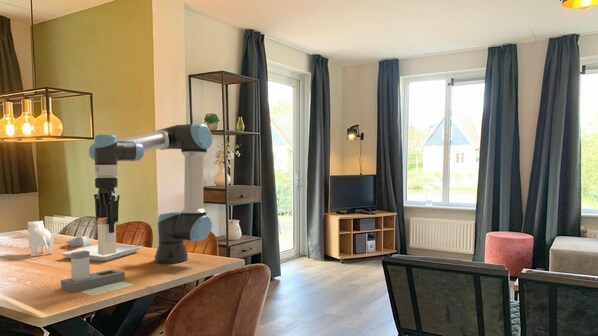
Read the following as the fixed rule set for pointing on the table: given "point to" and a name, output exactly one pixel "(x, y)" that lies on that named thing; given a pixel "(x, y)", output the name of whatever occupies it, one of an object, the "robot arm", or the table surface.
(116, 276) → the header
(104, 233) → the cream plug
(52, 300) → the table surface
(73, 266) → the grey plug
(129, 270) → the table surface
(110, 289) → the green mat
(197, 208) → the robot arm
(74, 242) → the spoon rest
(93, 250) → the square plate
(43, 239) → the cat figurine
